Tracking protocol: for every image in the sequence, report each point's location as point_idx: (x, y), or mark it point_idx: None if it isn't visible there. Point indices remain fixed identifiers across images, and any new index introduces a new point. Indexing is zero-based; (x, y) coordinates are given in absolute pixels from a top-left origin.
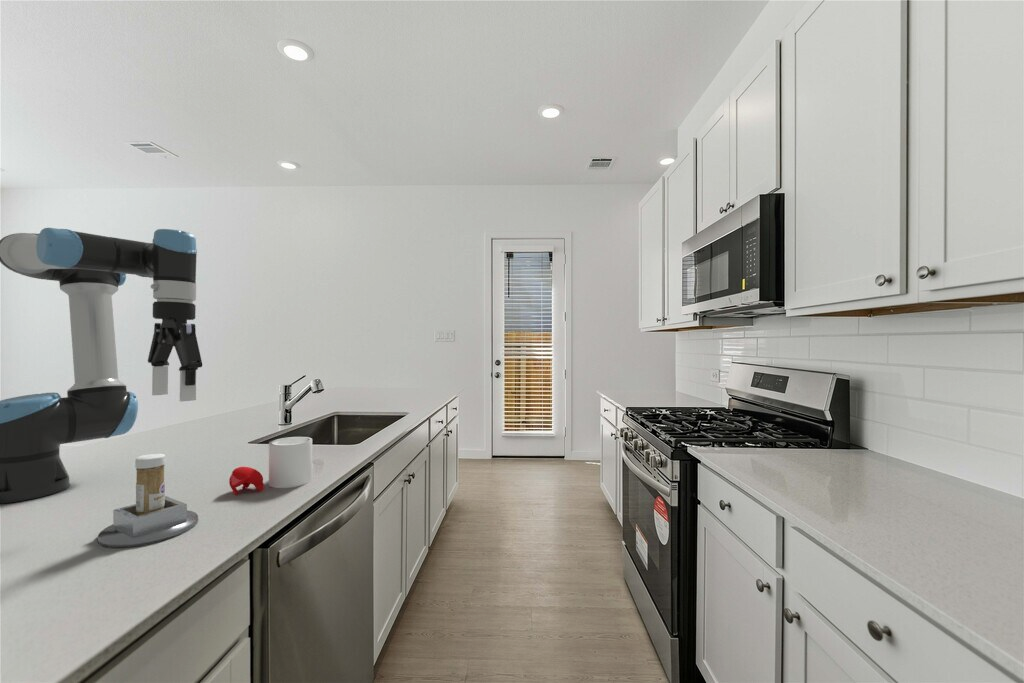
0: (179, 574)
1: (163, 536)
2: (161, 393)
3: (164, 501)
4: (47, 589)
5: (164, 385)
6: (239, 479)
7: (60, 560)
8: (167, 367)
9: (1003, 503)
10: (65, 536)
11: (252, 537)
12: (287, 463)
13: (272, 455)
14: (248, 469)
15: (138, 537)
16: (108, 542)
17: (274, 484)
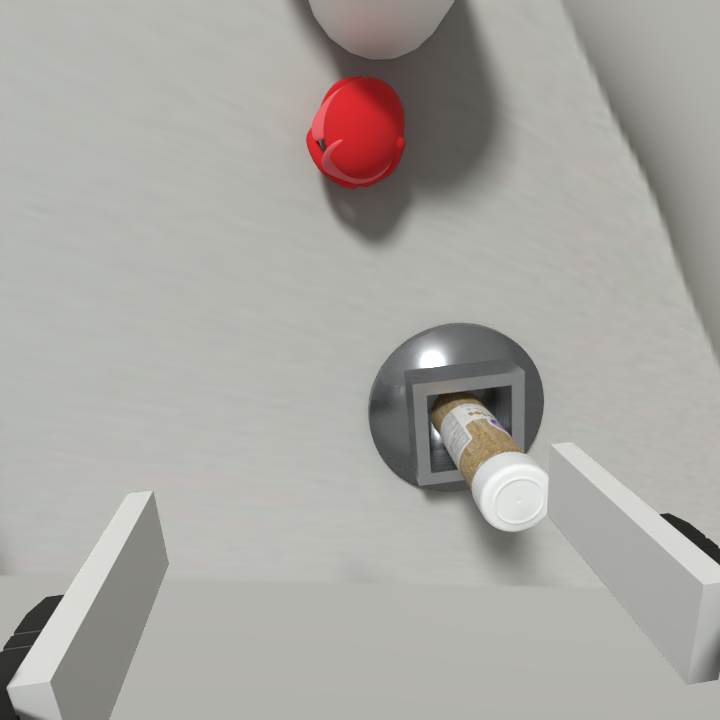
0: (704, 427)
1: (542, 410)
2: (155, 529)
3: (483, 408)
4: (574, 554)
5: (135, 553)
6: (385, 168)
7: (472, 534)
8: (58, 672)
9: None
10: (346, 517)
11: (685, 287)
12: None
13: (407, 14)
14: (378, 126)
15: None
16: None
17: (399, 53)
